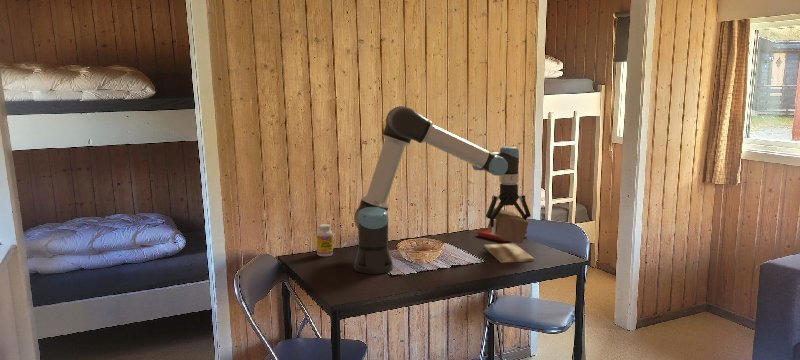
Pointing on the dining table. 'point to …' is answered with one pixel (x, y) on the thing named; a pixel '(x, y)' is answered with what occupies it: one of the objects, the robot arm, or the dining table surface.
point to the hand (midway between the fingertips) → (507, 233)
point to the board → (508, 253)
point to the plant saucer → (489, 234)
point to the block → (510, 226)
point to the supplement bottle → (324, 240)
